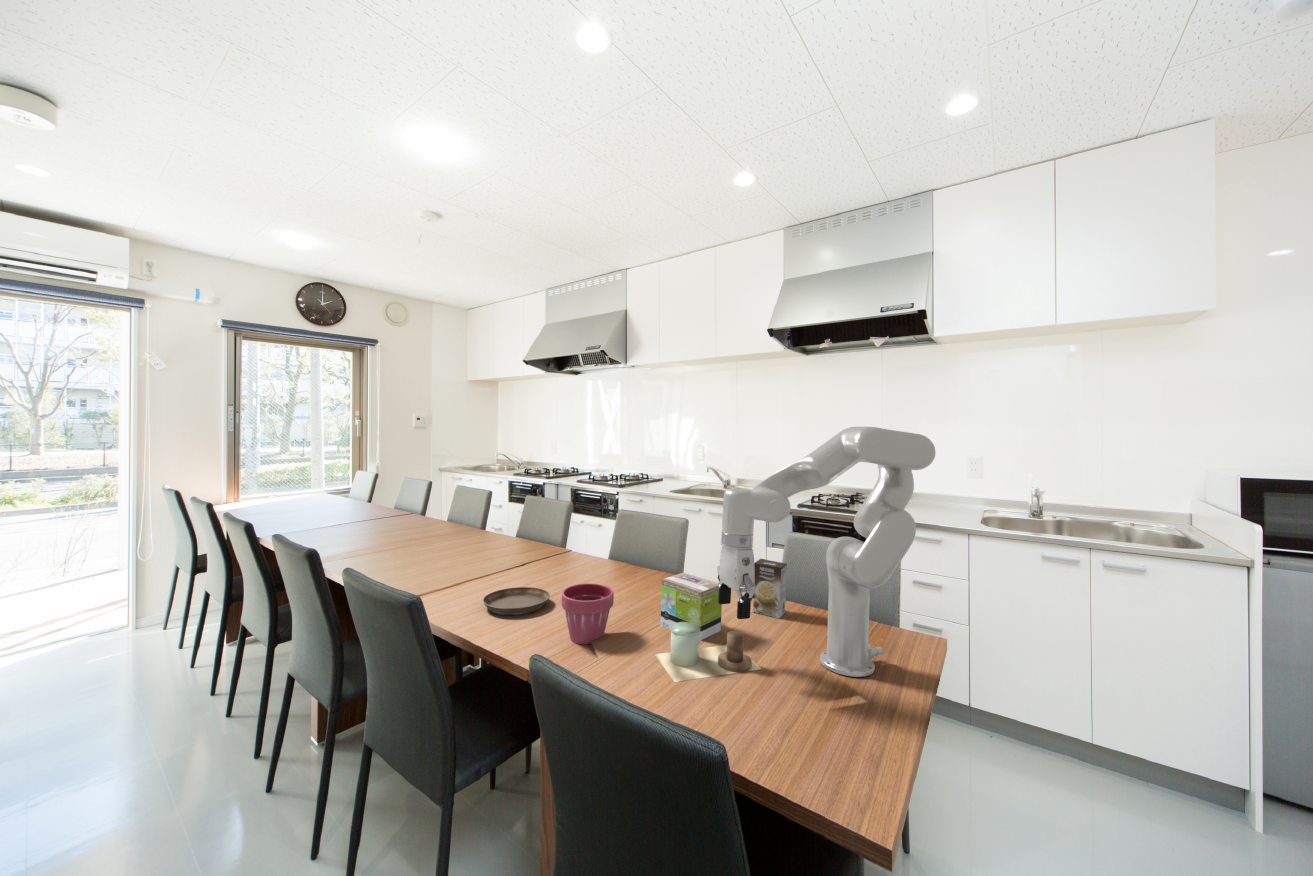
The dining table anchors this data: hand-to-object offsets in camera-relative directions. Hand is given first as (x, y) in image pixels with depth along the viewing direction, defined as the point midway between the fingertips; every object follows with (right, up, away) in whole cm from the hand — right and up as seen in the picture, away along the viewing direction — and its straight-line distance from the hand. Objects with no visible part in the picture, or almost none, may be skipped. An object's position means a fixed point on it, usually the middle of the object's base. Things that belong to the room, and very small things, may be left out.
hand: (733, 610), depth 117 cm
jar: (-12, -13, +1) cm, 17 cm away
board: (-6, -14, +1) cm, 15 cm away
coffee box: (+17, -14, +38) cm, 44 cm away
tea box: (-9, -14, +21) cm, 27 cm away
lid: (0, -13, 0) cm, 13 cm away
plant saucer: (-64, -13, +39) cm, 75 cm away
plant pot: (-38, -13, +16) cm, 43 cm away
